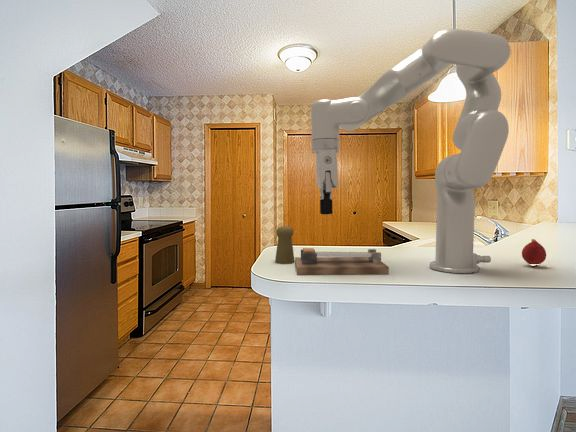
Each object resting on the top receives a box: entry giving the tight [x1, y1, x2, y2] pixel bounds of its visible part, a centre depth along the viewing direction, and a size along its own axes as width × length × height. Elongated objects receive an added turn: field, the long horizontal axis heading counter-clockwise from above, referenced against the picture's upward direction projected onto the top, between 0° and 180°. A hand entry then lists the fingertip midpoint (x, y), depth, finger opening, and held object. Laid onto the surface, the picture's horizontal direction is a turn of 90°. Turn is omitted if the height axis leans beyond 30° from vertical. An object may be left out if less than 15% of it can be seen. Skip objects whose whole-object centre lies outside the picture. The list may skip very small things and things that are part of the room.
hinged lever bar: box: [302, 247, 373, 257], centre depth 103 cm, size 20×4×2 cm, turn 91°
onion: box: [521, 238, 547, 265], centre depth 105 cm, size 6×6×8 cm
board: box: [294, 248, 390, 276], centre depth 103 cm, size 24×14×5 cm, turn 91°
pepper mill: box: [274, 225, 295, 265], centre depth 112 cm, size 6×6×11 cm
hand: (326, 213), depth 102 cm, fingers closed
